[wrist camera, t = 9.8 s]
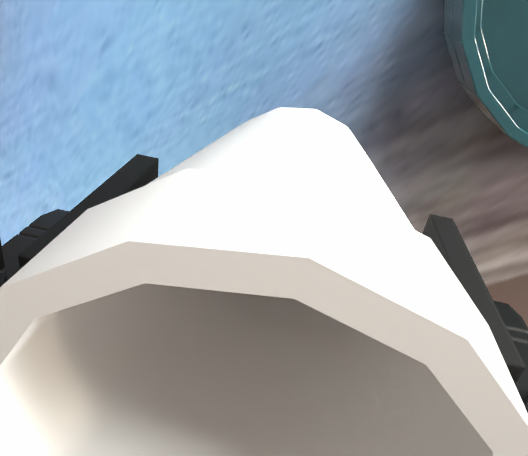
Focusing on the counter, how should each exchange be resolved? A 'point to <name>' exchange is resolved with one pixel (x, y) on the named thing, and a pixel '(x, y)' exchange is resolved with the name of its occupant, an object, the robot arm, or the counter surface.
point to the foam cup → (252, 317)
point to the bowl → (492, 58)
